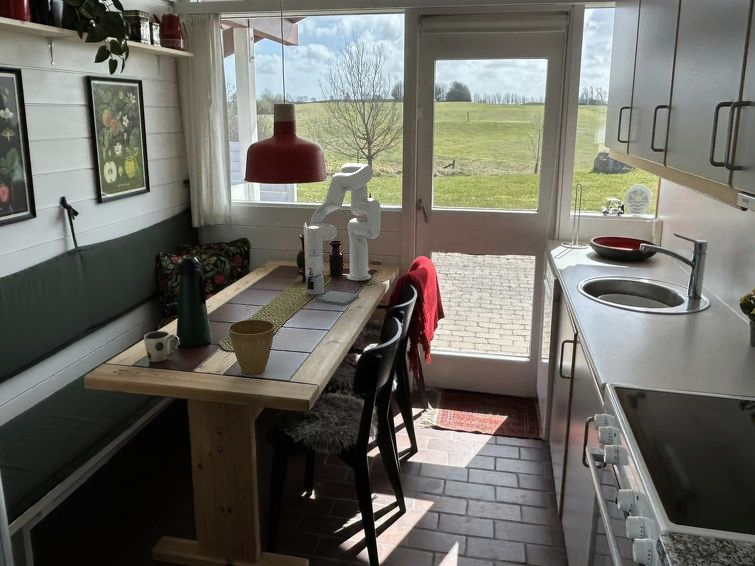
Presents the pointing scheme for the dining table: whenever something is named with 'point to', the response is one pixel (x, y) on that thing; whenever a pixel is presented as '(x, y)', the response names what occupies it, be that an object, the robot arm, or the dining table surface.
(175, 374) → the dining table surface
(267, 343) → the plant pot
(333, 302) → the plate
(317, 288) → the medicine box
